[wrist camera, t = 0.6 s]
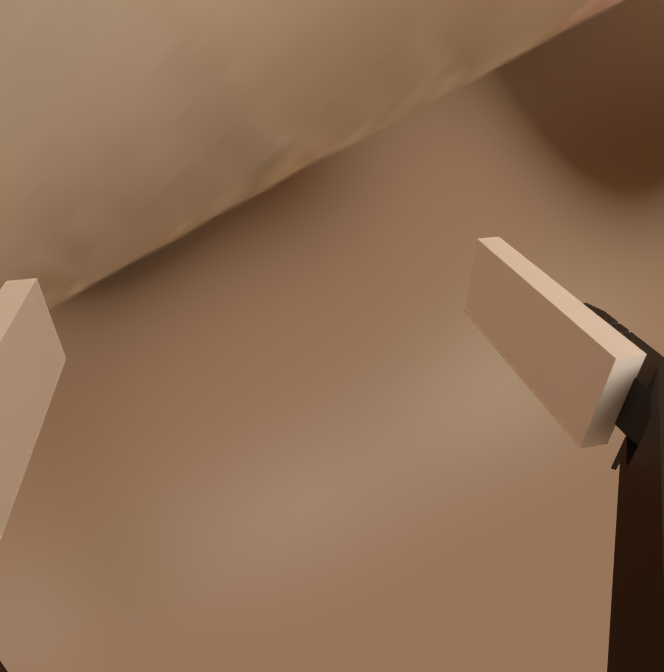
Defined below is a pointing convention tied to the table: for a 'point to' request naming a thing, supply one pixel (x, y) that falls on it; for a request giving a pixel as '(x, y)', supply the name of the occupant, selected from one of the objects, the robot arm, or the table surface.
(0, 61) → the table surface
